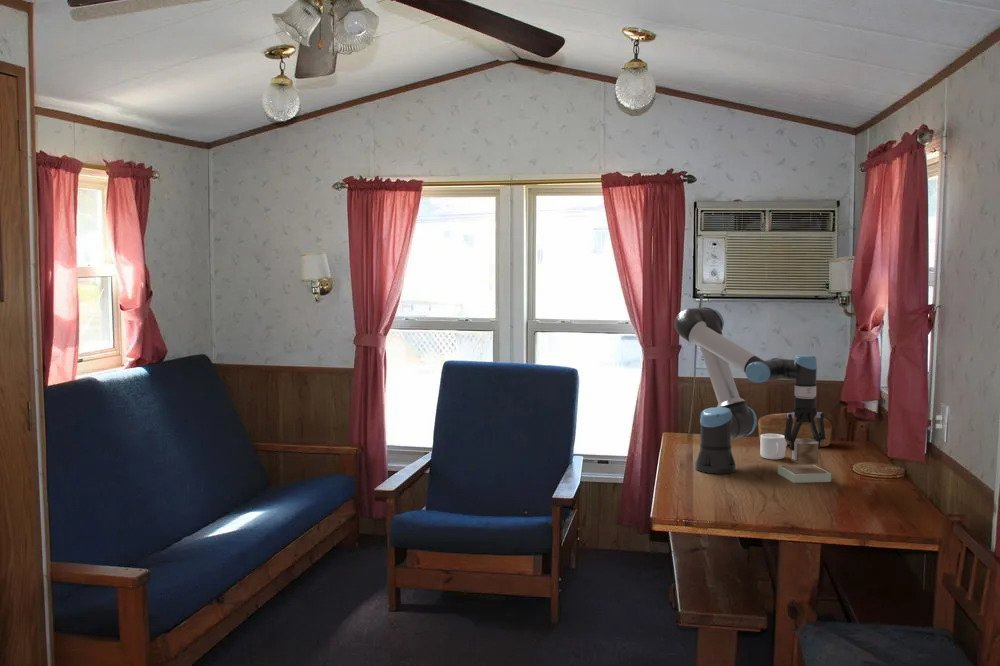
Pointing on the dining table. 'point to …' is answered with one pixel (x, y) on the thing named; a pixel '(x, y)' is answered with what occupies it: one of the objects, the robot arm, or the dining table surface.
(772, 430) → the bread
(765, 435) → the mug
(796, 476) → the base
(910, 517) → the dining table surface
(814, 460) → the block
